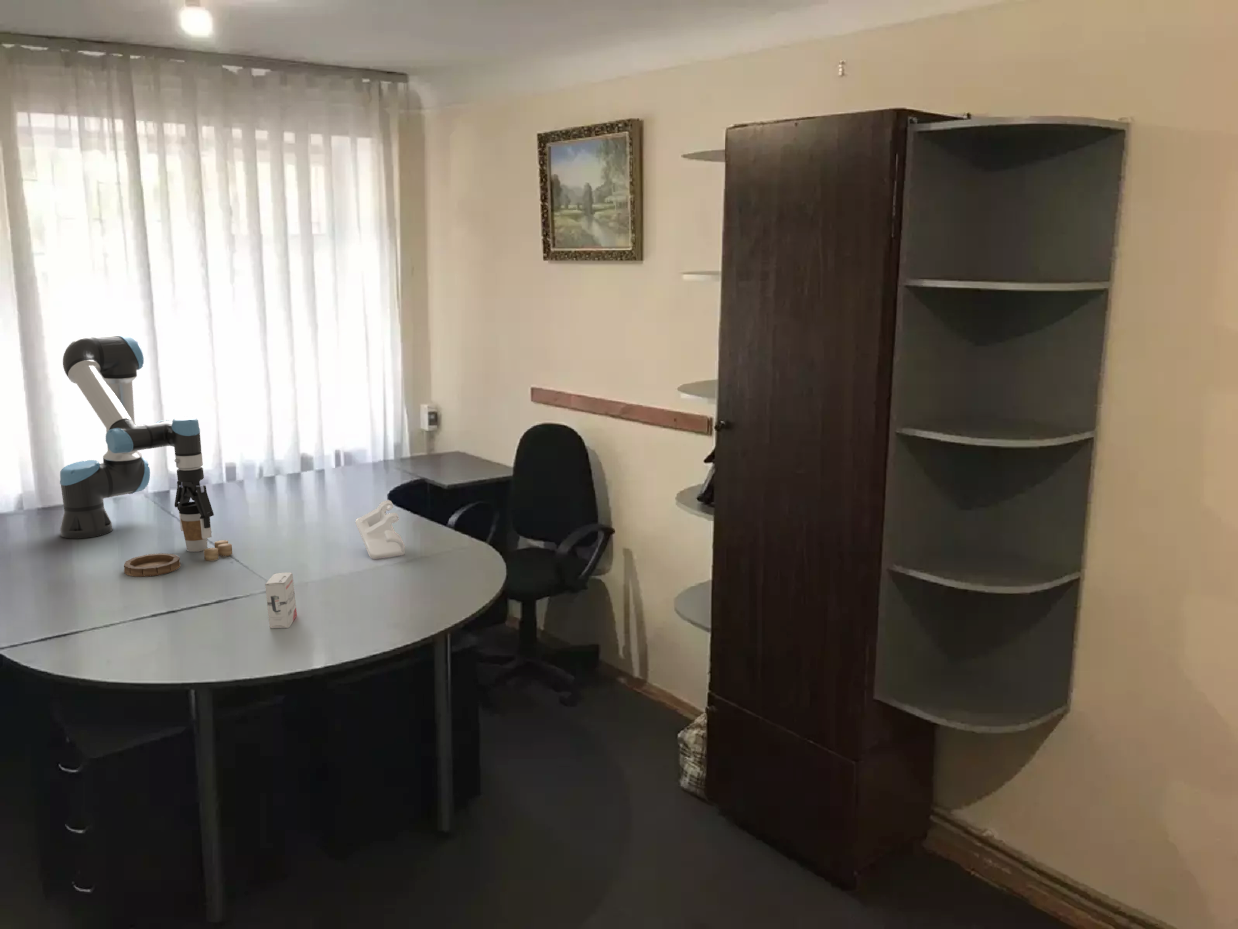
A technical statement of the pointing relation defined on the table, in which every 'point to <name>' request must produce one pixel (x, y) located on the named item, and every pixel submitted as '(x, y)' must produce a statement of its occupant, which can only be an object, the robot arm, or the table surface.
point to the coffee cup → (192, 527)
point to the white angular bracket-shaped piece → (380, 532)
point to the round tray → (152, 565)
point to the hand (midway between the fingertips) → (196, 534)
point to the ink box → (281, 600)
